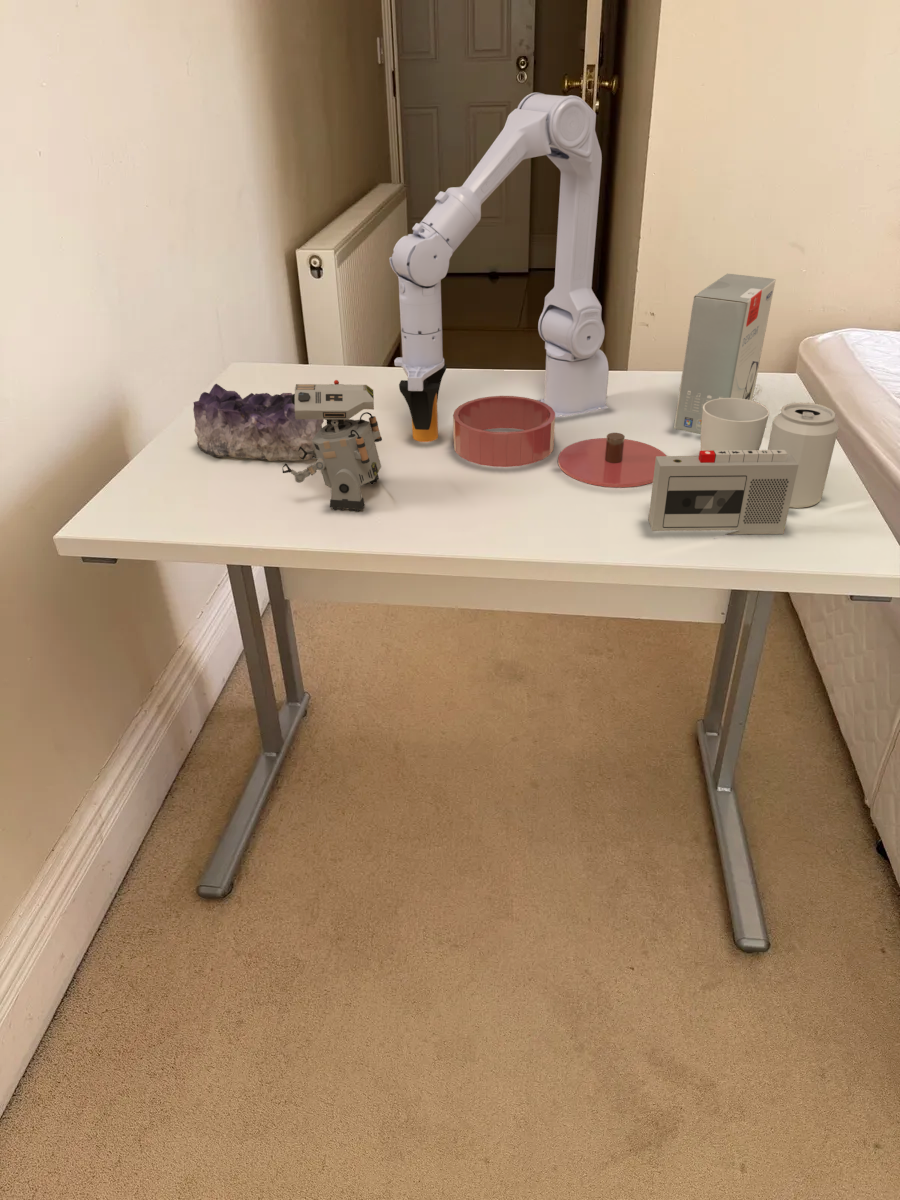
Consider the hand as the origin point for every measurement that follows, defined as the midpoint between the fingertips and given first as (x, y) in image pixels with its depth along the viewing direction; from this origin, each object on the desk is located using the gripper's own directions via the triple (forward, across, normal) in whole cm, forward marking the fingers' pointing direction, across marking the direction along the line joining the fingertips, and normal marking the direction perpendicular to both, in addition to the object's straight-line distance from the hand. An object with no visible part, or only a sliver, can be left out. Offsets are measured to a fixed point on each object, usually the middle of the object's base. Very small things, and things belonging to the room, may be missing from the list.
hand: (425, 421), depth 127 cm
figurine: (+3, +19, -9) cm, 21 cm away
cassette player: (+3, +24, +39) cm, 46 cm away
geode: (+3, +5, -23) cm, 24 cm away
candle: (+3, 0, 0) cm, 3 cm away
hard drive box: (+3, -11, +43) cm, 45 cm away
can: (+3, +15, +49) cm, 52 cm away
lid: (+2, +7, +27) cm, 28 cm away
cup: (+3, +10, +42) cm, 43 cm away
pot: (+3, +2, +12) cm, 12 cm away
